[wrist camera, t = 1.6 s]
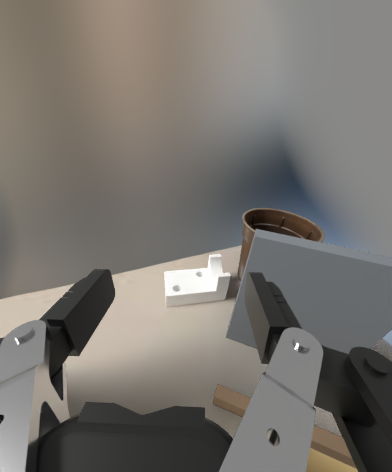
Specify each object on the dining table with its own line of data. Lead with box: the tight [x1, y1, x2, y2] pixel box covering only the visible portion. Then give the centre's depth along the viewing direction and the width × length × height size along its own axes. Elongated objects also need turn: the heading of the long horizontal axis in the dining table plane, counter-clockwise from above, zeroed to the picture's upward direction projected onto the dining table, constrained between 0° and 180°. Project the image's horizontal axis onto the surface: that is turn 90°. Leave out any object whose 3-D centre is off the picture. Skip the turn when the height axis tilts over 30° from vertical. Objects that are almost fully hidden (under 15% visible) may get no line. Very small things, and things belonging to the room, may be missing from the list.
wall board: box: [213, 229, 392, 469], centre depth 22 cm, size 12×18×22 cm, turn 71°
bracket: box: [164, 254, 231, 307], centre depth 40 cm, size 13×7×8 cm, turn 101°
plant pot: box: [238, 208, 325, 280], centre depth 43 cm, size 16×16×16 cm
